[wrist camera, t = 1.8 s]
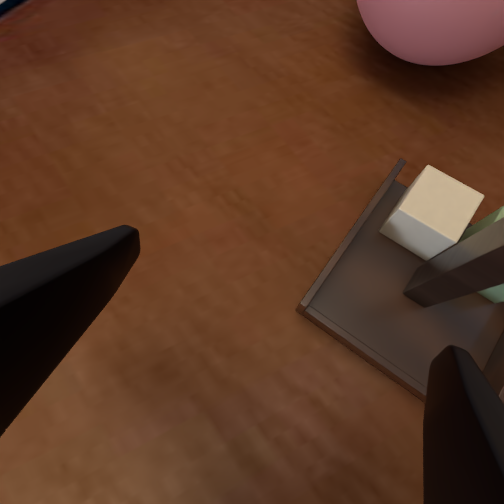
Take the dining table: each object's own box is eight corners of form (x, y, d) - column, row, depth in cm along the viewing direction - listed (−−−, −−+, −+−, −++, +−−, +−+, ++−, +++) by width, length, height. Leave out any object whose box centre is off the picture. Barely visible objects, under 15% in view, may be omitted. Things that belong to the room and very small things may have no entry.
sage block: (494, 303, 23) (541, 292, 19) (441, 270, 24) (475, 254, 20) (518, 259, 24) (567, 240, 20) (466, 228, 25) (503, 205, 21)
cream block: (426, 261, 24) (457, 243, 20) (377, 231, 25) (398, 208, 21) (451, 220, 25) (485, 195, 21) (403, 192, 26) (428, 163, 22)
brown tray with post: (458, 426, 21) (708, 514, 9) (295, 309, 24) (326, 261, 12) (538, 267, 24) (805, 180, 12) (385, 179, 27) (483, 37, 15)
